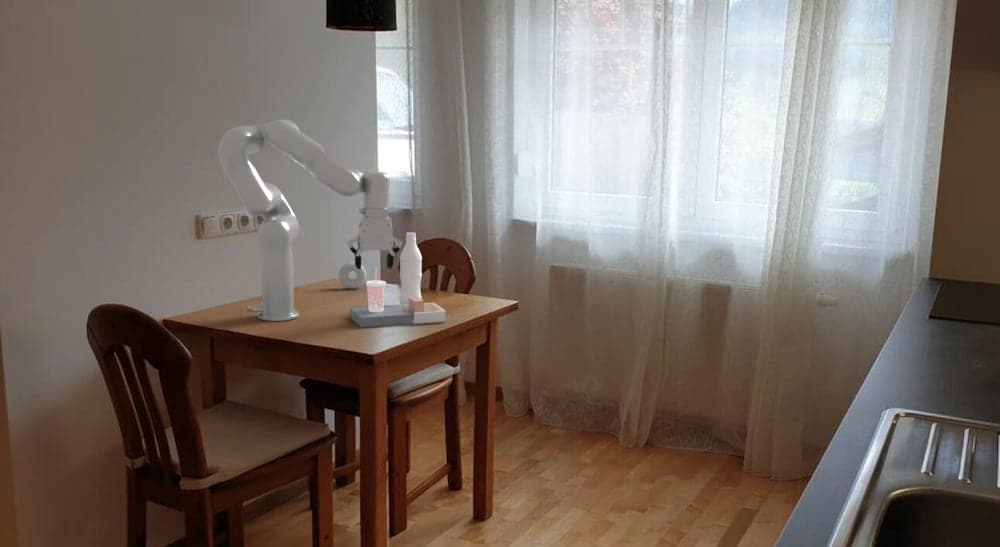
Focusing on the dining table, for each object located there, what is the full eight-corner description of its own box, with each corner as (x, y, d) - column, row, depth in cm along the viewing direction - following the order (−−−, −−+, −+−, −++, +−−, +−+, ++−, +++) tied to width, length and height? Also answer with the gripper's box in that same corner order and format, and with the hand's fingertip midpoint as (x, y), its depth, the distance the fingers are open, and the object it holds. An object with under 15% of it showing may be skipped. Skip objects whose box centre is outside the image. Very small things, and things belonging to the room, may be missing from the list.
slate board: (360, 327, 268) (360, 317, 267) (350, 317, 281) (349, 307, 280) (412, 323, 274) (412, 314, 273) (399, 313, 287) (399, 304, 286)
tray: (414, 324, 273) (414, 313, 272) (402, 315, 284) (403, 304, 284) (445, 322, 277) (446, 311, 276) (433, 313, 288) (433, 302, 287)
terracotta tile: (414, 301, 275) (423, 300, 277) (408, 297, 281) (417, 296, 282) (414, 320, 277) (423, 319, 278) (408, 316, 282) (417, 315, 283)
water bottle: (411, 311, 290) (411, 235, 286) (395, 307, 295) (395, 232, 290) (426, 307, 296) (426, 232, 291) (410, 304, 300) (410, 230, 296)
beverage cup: (379, 313, 273) (379, 268, 271) (362, 311, 276) (362, 266, 273) (389, 309, 279) (389, 265, 276) (372, 307, 281) (372, 263, 278)
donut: (338, 289, 321) (338, 262, 319) (339, 287, 324) (338, 260, 322) (366, 290, 322) (366, 262, 320) (367, 288, 325) (366, 261, 323)
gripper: (350, 214, 265) (349, 271, 268) (406, 215, 272) (404, 270, 275) (345, 211, 272) (343, 266, 275) (399, 211, 278) (397, 265, 282)
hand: (373, 268), depth 275 cm, fingers open, 9 cm apart
